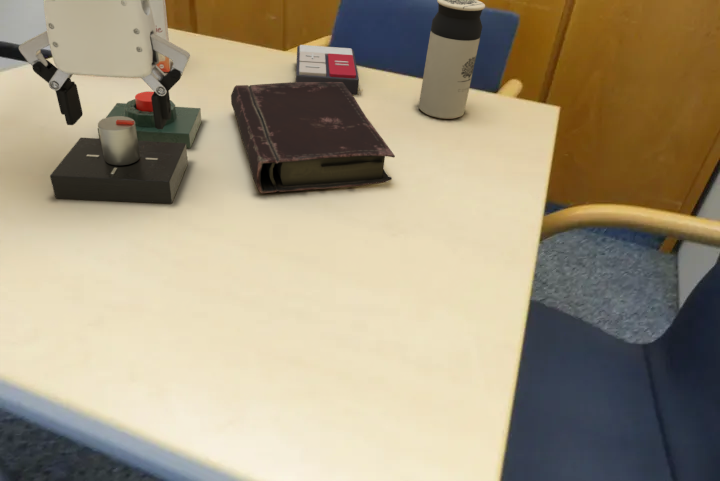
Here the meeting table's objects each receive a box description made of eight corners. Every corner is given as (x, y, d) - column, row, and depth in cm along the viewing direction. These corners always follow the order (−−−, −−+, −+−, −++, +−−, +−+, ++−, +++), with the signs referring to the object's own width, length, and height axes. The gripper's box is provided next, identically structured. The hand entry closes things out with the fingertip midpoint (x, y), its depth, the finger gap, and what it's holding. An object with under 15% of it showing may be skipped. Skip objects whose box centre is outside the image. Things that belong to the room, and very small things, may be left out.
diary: (254, 196, 68) (254, 159, 65) (231, 114, 87) (230, 83, 84) (396, 185, 74) (401, 151, 71) (345, 110, 93) (347, 81, 90)
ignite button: (133, 112, 76) (131, 100, 75) (140, 102, 79) (138, 90, 78) (160, 114, 76) (159, 101, 75) (166, 104, 79) (165, 92, 78)
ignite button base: (100, 143, 75) (94, 115, 73) (119, 116, 83) (114, 90, 80) (190, 148, 77) (188, 121, 74) (201, 121, 84) (199, 96, 82)
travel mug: (408, 106, 97) (425, -4, 86) (441, 99, 101) (460, -6, 91) (440, 123, 92) (462, 9, 82) (473, 115, 96) (497, 6, 86)
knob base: (55, 198, 64) (49, 174, 62) (85, 158, 72) (80, 136, 70) (171, 203, 65) (169, 180, 63) (188, 163, 73) (185, 141, 71)
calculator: (296, 71, 95) (297, 41, 107) (295, 95, 98) (296, 63, 110) (359, 75, 97) (354, 45, 108) (357, 98, 99) (352, 66, 111)
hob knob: (99, 164, 65) (92, 126, 62) (110, 149, 68) (103, 112, 65) (135, 166, 65) (129, 128, 62) (143, 151, 68) (138, 114, 66)
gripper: (187, -42, 58) (201, 113, 68) (12, -55, 56) (52, 106, 66) (172, -28, 52) (189, 140, 62) (-25, -43, 50) (26, 132, 60)
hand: (118, 122), depth 64 cm, fingers open, 9 cm apart
